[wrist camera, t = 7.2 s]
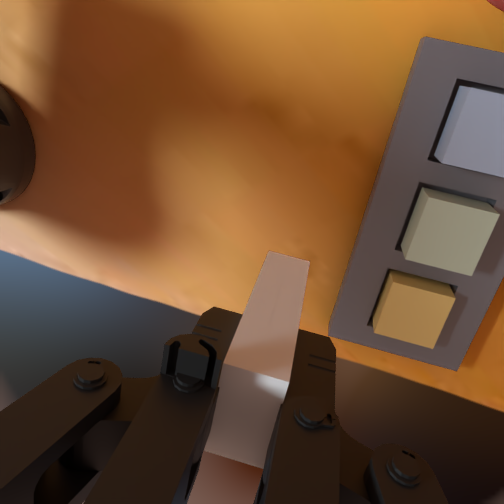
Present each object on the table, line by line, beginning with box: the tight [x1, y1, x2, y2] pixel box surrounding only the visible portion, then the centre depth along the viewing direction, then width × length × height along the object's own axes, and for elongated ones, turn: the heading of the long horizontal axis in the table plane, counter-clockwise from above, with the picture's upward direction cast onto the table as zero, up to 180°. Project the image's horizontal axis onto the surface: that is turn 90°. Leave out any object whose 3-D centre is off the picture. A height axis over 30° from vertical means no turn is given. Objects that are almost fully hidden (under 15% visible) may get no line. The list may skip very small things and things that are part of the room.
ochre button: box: [372, 268, 456, 349], centre depth 45 cm, size 6×6×4 cm
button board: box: [328, 37, 504, 371], centre depth 43 cm, size 14×30×2 cm, turn 168°
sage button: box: [401, 187, 500, 276], centre depth 40 cm, size 6×6×4 cm
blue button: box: [434, 86, 504, 178], centre depth 37 cm, size 6×6×4 cm
